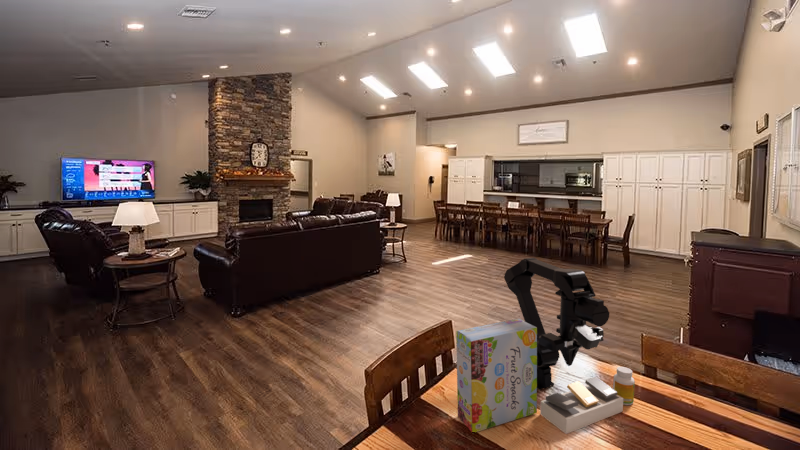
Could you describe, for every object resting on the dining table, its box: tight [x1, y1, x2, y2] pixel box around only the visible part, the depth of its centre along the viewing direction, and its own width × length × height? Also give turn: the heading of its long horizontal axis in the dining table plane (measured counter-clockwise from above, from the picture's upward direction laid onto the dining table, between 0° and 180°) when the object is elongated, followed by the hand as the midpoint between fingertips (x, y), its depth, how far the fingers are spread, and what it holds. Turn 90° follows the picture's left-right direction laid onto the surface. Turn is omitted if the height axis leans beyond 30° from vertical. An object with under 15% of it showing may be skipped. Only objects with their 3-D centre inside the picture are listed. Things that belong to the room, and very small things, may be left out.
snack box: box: [455, 318, 538, 433], centre depth 104 cm, size 22×9×26 cm, turn 111°
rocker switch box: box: [539, 384, 624, 435], centre depth 105 cm, size 9×22×4 cm, turn 114°
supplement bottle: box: [612, 366, 636, 406], centre depth 111 cm, size 5×5×10 cm
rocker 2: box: [584, 376, 617, 399], centre depth 108 cm, size 7×4×1 cm, turn 25°
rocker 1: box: [545, 392, 578, 410], centre depth 102 cm, size 7×4×1 cm, turn 24°
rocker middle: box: [566, 380, 599, 407], centre depth 105 cm, size 7×4×1 cm, turn 25°
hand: (568, 365), depth 109 cm, fingers closed
